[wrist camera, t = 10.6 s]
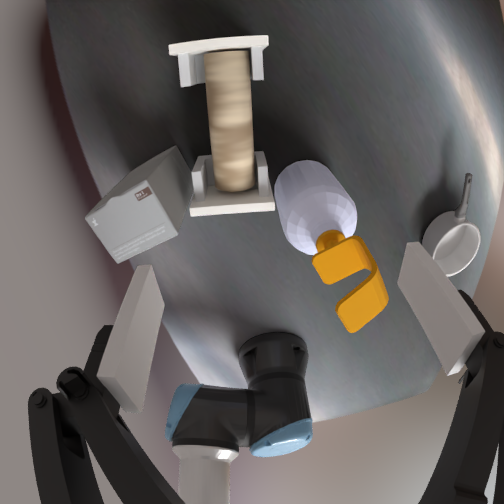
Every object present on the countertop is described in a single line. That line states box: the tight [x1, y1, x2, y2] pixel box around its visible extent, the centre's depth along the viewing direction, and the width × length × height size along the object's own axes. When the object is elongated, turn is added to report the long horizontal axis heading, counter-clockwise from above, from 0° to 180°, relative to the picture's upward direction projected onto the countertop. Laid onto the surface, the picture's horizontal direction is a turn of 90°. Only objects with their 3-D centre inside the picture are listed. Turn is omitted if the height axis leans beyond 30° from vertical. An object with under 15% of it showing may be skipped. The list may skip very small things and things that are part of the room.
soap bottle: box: [274, 160, 389, 333], centre depth 32 cm, size 9×9×25 cm
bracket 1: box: [169, 35, 269, 87], centre depth 27 cm, size 4×9×11 cm, turn 93°
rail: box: [204, 51, 255, 192], centre depth 30 cm, size 15×5×5 cm
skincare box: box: [85, 145, 194, 263], centre depth 34 cm, size 8×7×16 cm
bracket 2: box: [190, 151, 275, 217], centre depth 35 cm, size 4×9×11 cm, turn 93°
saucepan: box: [422, 173, 481, 276], centre depth 43 cm, size 12×20×6 cm, turn 11°
